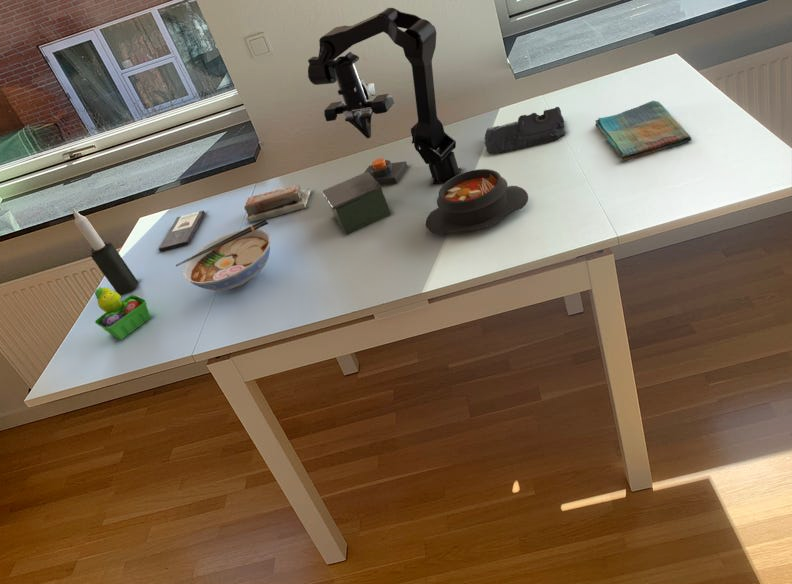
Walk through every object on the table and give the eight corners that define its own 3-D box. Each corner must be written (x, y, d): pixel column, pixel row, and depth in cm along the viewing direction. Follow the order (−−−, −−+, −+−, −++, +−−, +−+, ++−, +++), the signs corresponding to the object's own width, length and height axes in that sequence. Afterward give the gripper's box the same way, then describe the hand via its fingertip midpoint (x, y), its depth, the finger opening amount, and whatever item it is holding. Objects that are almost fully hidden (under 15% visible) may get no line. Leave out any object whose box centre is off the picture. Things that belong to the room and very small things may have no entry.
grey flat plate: (333, 209, 173) (332, 207, 173) (322, 193, 182) (321, 191, 182) (381, 188, 175) (380, 186, 175) (368, 174, 184) (367, 171, 184)
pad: (408, 167, 199) (404, 155, 196) (396, 183, 193) (392, 171, 190) (371, 171, 203) (367, 160, 201) (359, 187, 197) (354, 176, 195)
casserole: (521, 183, 173) (514, 152, 168) (537, 219, 158) (529, 186, 153) (424, 213, 175) (414, 183, 170) (431, 251, 161) (420, 220, 155)
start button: (388, 163, 197) (386, 157, 195) (383, 169, 194) (381, 164, 193) (376, 164, 198) (374, 159, 197) (372, 171, 196) (369, 165, 195)
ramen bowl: (200, 322, 166) (182, 295, 161) (188, 281, 183) (172, 255, 178) (296, 275, 170) (282, 247, 165) (276, 240, 187) (262, 213, 182)
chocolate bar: (158, 248, 201) (177, 217, 215) (160, 251, 202) (178, 220, 216) (186, 241, 200) (203, 210, 213) (188, 244, 200) (205, 213, 214)
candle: (122, 285, 192) (66, 206, 177) (139, 280, 192) (84, 200, 176) (117, 296, 188) (59, 216, 173) (134, 290, 188) (78, 210, 172)
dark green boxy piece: (346, 234, 178) (335, 209, 174) (335, 217, 187) (324, 193, 183) (391, 214, 180) (381, 189, 175) (377, 198, 189) (368, 174, 184)
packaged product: (240, 209, 197) (247, 192, 204) (247, 224, 200) (255, 207, 207) (299, 193, 193) (305, 177, 201) (306, 208, 196) (311, 192, 204)
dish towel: (659, 107, 183) (658, 97, 182) (693, 141, 165) (692, 131, 164) (595, 127, 185) (593, 118, 183) (621, 163, 167) (620, 153, 165)
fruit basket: (119, 345, 168) (91, 308, 161) (103, 335, 174) (75, 300, 167) (157, 316, 174) (132, 279, 167) (141, 308, 179) (116, 272, 172)
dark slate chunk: (486, 133, 201) (482, 118, 198) (562, 115, 196) (560, 98, 193) (485, 157, 189) (481, 141, 186) (567, 138, 184) (564, 121, 181)
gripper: (391, 63, 182) (409, 119, 192) (330, 74, 190) (351, 128, 200) (375, 81, 175) (395, 139, 185) (313, 91, 182) (335, 147, 192)
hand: (369, 137), depth 190 cm, fingers closed
